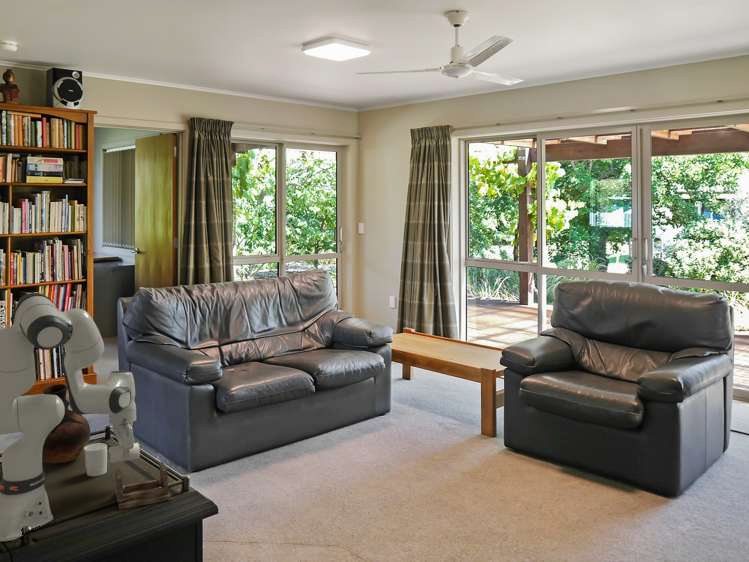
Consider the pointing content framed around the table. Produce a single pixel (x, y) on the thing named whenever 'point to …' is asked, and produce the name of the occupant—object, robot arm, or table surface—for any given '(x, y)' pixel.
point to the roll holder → (143, 490)
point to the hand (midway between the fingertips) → (124, 454)
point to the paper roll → (117, 453)
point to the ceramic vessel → (65, 432)
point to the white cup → (96, 459)
